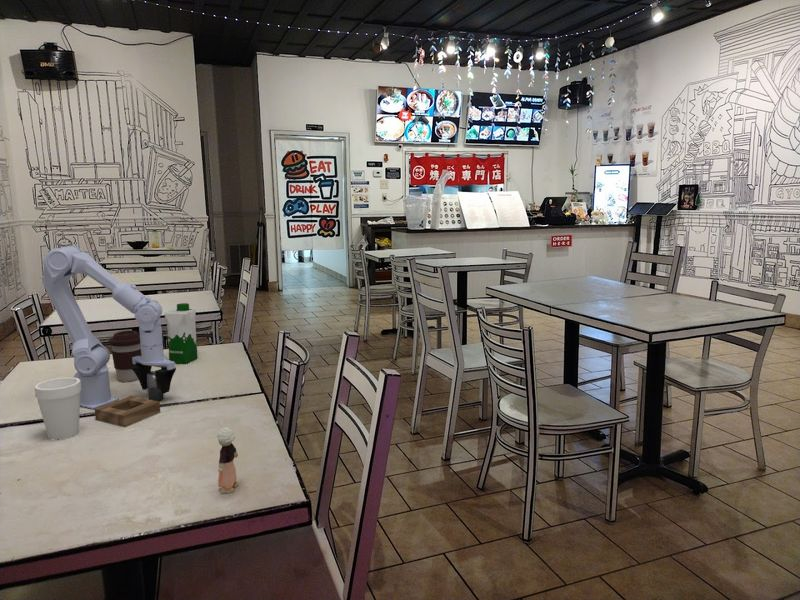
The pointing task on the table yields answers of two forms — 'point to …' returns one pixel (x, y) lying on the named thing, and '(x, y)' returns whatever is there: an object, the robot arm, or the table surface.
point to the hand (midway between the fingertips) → (155, 390)
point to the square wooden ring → (127, 411)
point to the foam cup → (60, 406)
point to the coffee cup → (125, 354)
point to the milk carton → (182, 334)
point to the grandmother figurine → (227, 461)
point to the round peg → (154, 387)
